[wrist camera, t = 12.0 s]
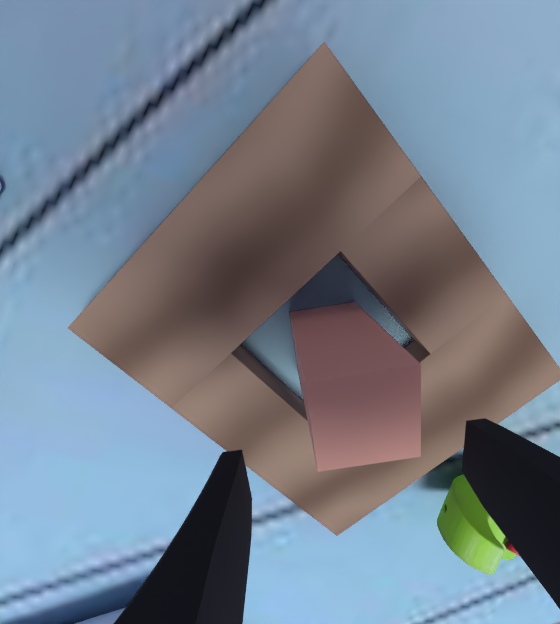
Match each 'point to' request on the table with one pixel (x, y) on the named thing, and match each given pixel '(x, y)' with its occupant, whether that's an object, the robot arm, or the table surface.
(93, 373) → the table surface
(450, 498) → the toy crocodile
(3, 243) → the table surface
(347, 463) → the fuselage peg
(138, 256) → the jig board
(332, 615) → the table surface
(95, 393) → the table surface
